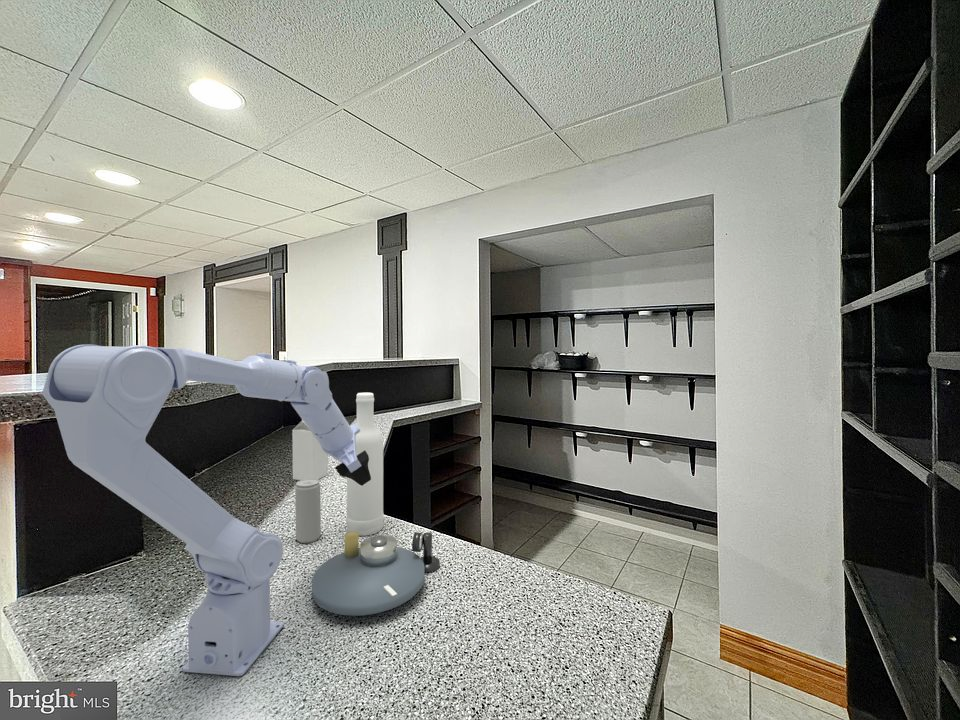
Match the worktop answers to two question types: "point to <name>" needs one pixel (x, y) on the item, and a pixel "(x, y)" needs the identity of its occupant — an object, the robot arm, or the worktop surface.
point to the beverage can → (308, 510)
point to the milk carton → (307, 455)
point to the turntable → (366, 581)
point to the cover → (378, 551)
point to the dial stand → (425, 550)
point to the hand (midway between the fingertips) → (358, 469)
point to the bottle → (369, 497)
